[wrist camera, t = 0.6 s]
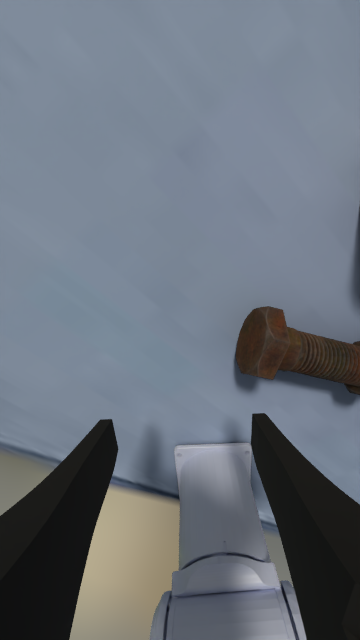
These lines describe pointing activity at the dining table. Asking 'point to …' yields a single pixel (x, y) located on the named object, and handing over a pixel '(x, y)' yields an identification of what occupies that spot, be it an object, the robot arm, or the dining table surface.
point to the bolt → (294, 351)
